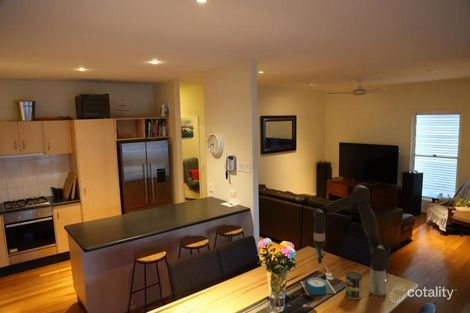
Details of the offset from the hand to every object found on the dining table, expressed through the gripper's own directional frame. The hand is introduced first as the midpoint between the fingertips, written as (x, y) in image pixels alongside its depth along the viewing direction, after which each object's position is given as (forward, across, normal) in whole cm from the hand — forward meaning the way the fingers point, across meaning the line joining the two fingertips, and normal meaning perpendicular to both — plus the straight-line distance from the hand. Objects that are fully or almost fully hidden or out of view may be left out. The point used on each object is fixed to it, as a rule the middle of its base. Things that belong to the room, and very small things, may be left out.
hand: (319, 262), depth 220 cm
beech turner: (+21, +22, -14) cm, 34 cm away
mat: (+21, +5, 0) cm, 22 cm away
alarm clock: (+18, -6, +1) cm, 18 cm away
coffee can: (+22, -7, -21) cm, 31 cm away
